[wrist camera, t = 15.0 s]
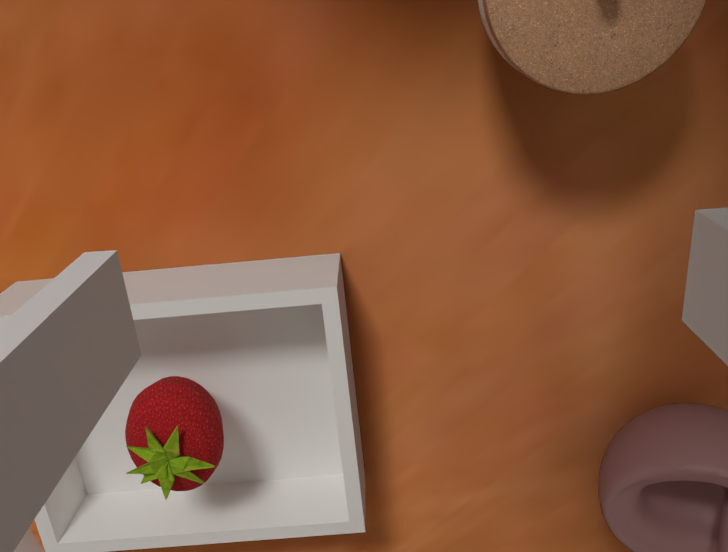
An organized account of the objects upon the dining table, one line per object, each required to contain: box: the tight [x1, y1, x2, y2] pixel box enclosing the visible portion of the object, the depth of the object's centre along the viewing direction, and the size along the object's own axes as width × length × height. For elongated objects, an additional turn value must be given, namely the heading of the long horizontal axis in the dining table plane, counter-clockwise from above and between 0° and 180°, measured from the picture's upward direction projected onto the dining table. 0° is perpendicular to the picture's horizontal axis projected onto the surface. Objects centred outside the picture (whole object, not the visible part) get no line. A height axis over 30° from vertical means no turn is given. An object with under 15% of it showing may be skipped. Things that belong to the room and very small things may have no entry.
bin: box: [0, 253, 365, 552], centre depth 44 cm, size 18×22×6 cm
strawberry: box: [125, 376, 224, 500], centre depth 41 cm, size 6×8×10 cm
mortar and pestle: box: [598, 403, 728, 552], centre depth 43 cm, size 12×12×12 cm
